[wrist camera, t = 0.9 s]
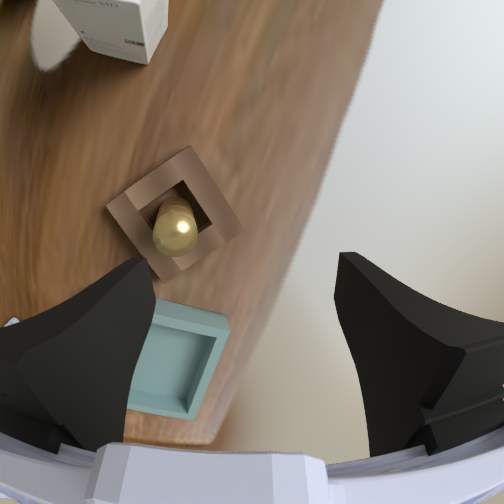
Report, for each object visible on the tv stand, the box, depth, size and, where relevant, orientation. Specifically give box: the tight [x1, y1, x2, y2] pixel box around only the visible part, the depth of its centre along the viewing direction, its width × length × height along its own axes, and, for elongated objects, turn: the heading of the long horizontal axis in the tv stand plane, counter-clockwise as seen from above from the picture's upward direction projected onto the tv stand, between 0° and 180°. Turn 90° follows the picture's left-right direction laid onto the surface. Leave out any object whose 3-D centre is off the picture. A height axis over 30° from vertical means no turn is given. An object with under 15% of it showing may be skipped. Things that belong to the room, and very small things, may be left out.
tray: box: [127, 298, 230, 420], centre depth 29 cm, size 13×13×3 cm
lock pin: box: [153, 197, 198, 257], centre depth 23 cm, size 3×3×7 cm
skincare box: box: [53, 0, 169, 64], centre depth 15 cm, size 6×4×12 cm
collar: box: [106, 145, 245, 283], centre depth 26 cm, size 8×8×2 cm
